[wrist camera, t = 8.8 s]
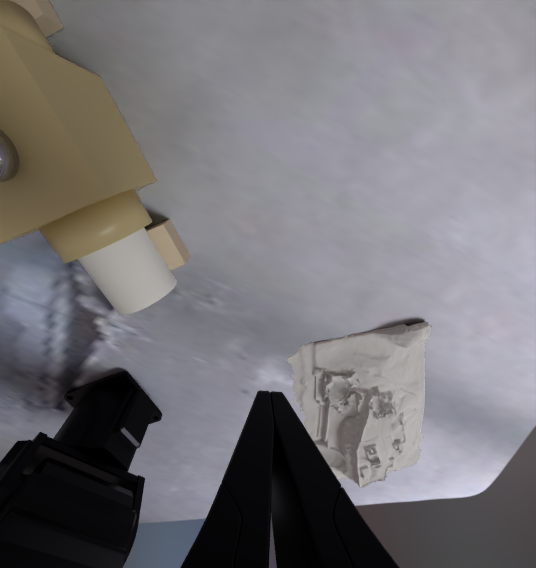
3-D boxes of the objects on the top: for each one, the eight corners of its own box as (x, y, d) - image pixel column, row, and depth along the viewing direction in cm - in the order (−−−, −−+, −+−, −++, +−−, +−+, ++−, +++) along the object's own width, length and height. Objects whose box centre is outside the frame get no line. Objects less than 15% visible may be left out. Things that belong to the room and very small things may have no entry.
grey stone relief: (414, 293, 25) (450, 322, 21) (439, 451, 34) (469, 496, 29) (244, 349, 27) (243, 388, 22) (311, 487, 35) (320, 535, 31)
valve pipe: (129, 287, 21) (79, 344, 15) (-75, -7, 14) (-346, -140, 8) (199, 259, 21) (176, 306, 14) (23, -66, 13) (-185, -266, 7)
